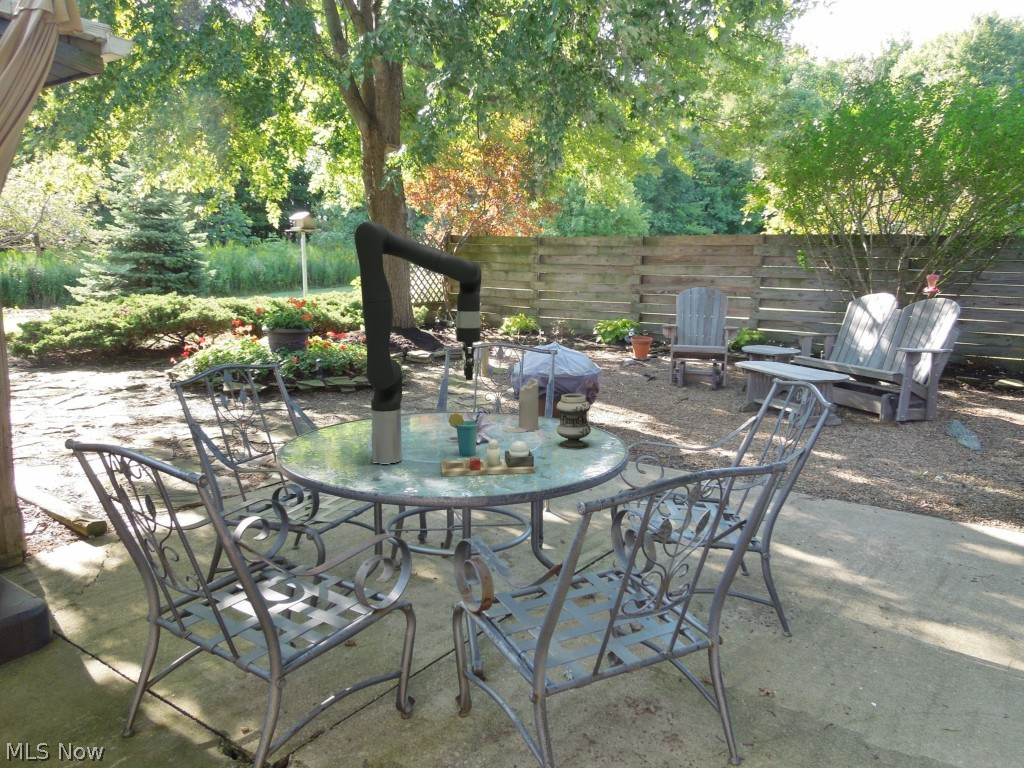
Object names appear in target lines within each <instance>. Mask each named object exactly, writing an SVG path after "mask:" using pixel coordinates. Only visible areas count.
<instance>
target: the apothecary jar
mask: <svg viewBox="0 0 1024 768" xmlns="http://www.w3.org/2000/svg"><path fill="white" fill-rule="evenodd" d="M560 397H561V398H560V401H558V402H557V404H556V410H557V411H559V424H558V425H557V426H556V432H557V433H556V434H558V436H560V437H562V438H564V439H565V440H563V441H561V442H560V443H559V447H561V446H562V447H561V448H563V447H565V448H564V449H568V448H574V449H573V450H578V449H577V448H580V449H585V448H586V446H587V447H588V443H587V442H585V441H583V440H580V439H583V438H586V437H588V436H589V435H590V434H591V431H592V428H591V426H590V425H589V424H588V412H589V411H591V403H590V402H589V401H587V397H586V394H581V393H566V394H561V396H560ZM584 447H585V448H584ZM575 448H576V449H575Z"/></svg>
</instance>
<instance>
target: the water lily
mask: <svg viewBox="0 0 1024 768" xmlns="http://www.w3.org/2000/svg"><path fill="white" fill-rule="evenodd" d="M464 418H465V421H474V422H475V418H474V417H473V416H471V415H470V414H469V413H467V412H464ZM485 420H486V413H480V415H479V418H478V421H477V423H479V424H478V427H477V439H476V443H478V444H480V443H481V441H482V438H483V439H484V440H485V441H487V442H489V441H490V440H492V439H494V438H493V437H492V436H491V435H490V434H488V433H486V431H489V430H492V429H493V428H494V427H496V423H485V424H484V422H485ZM481 437H482V438H481Z"/></svg>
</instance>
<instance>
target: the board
mask: <svg viewBox="0 0 1024 768" xmlns="http://www.w3.org/2000/svg"><path fill="white" fill-rule="evenodd" d="M528 450H529V457H510V456H509V450H505V451H504V458H500V465H497V466H490V465H487V458H486V459H481V458H480V457H470V458H469V459H464V460H463V459H459V460H440V469H441V477H442V476H449V477H468V475H471V476H489V475H488V474H499V475H517V474H516V473H524V474H535V473H536V468H535V461H534V460H535V457H534V454H533V453H532V451H531V450H530V449H528ZM465 475H467V476H465Z"/></svg>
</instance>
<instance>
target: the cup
mask: <svg viewBox="0 0 1024 768" xmlns="http://www.w3.org/2000/svg"><path fill="white" fill-rule="evenodd" d="M480 413H482V414H487V415H491V411H488V410H483V409H481V410H479V411H478V412H477V414H476V416H475V418H474V420H475V422H474V421H467V420H464V418H463V415H462V414H460V413H457V412H456V413H453V414H450V416H449V418H448V423H449V425H450V427H453V428H455V429H456V433H457V434H456V435H457V436H456V437H457V443H458V454H460V455H459V456H461V455H462V456H461V457H473V455H474V456H475V455H476V452H477V441H476V439H477V427H478V424H479V423H477V421H478V418H479V415H480Z"/></svg>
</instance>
